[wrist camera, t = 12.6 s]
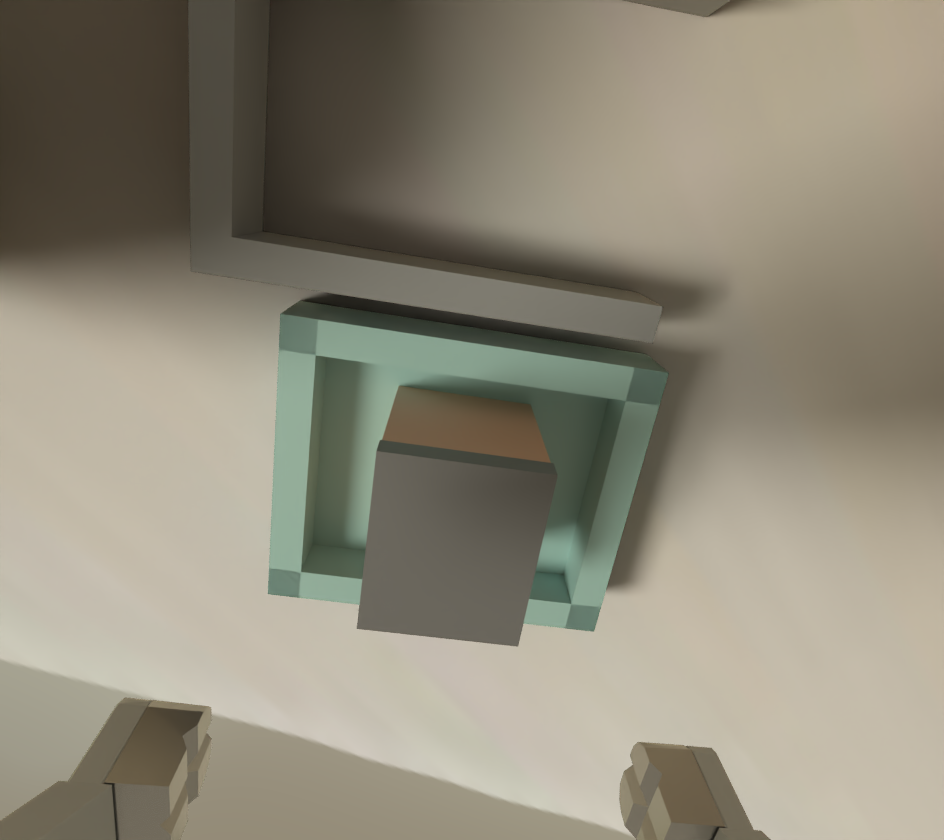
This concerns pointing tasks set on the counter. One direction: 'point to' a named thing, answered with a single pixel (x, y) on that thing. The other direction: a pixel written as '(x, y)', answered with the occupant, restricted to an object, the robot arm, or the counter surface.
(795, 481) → the counter surface
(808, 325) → the counter surface
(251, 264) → the bay
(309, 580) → the tray
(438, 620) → the orange-topped grey box
